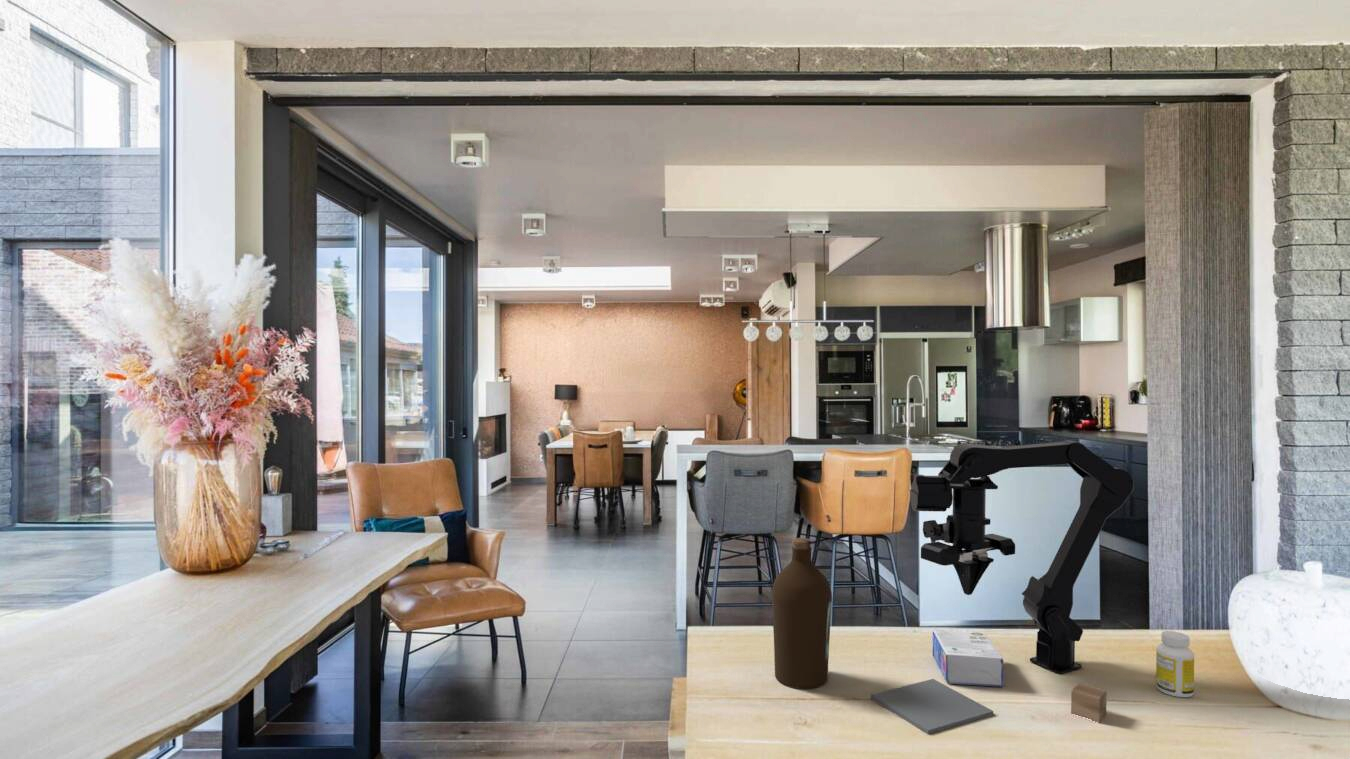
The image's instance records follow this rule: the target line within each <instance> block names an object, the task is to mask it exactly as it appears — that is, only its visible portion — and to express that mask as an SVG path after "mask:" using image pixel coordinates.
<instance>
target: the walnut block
mask: <svg viewBox="0 0 1350 759" xmlns="http://www.w3.org/2000/svg"><path fill="white" fill-rule="evenodd" d="M1107 692H1108V691H1107V689H1103V688H1098V687H1095V686H1092V685H1089V684H1085V683H1082V682H1079V683H1078V684H1077V685H1075V687H1073V689H1072V690H1071V695H1070V696H1071V700H1070V701H1071V702H1070V708H1071V709H1070V715H1071V714H1075V715H1078V716H1081V717H1085V718H1088V719H1091V720H1092V721H1091V722H1093V721H1095V722H1094V723H1096V722H1098V723H1097V724H1100V723H1101V722H1102V720H1103V719H1104V718H1105V717H1106V715H1107V694H1108V693H1107Z"/></svg>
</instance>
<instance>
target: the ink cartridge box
mask: <svg viewBox="0 0 1350 759" xmlns="http://www.w3.org/2000/svg"><path fill="white" fill-rule="evenodd" d="M932 656H933V659H934V660H935V662H936V664H937V665H938V668H939V670H940V672H941V674H942V676H943V678H944V680H945V682H946V683H947V684H949V685H950V684H953V685H964V686H966V685H968V686H981V687H982V686H983V687H999V688H1002V687H1004V659H1003V657H1002V656H1001V654H1000V652H999V651H998V650H997V649H996V647H995V645H994V644H993V643H992V641H991V640H990V638H989V637H988V636H987V634H986V633H985V632H978V631H977V632H975V631H955V630H954V631H953V630H943V629H933V630H932Z"/></svg>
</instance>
